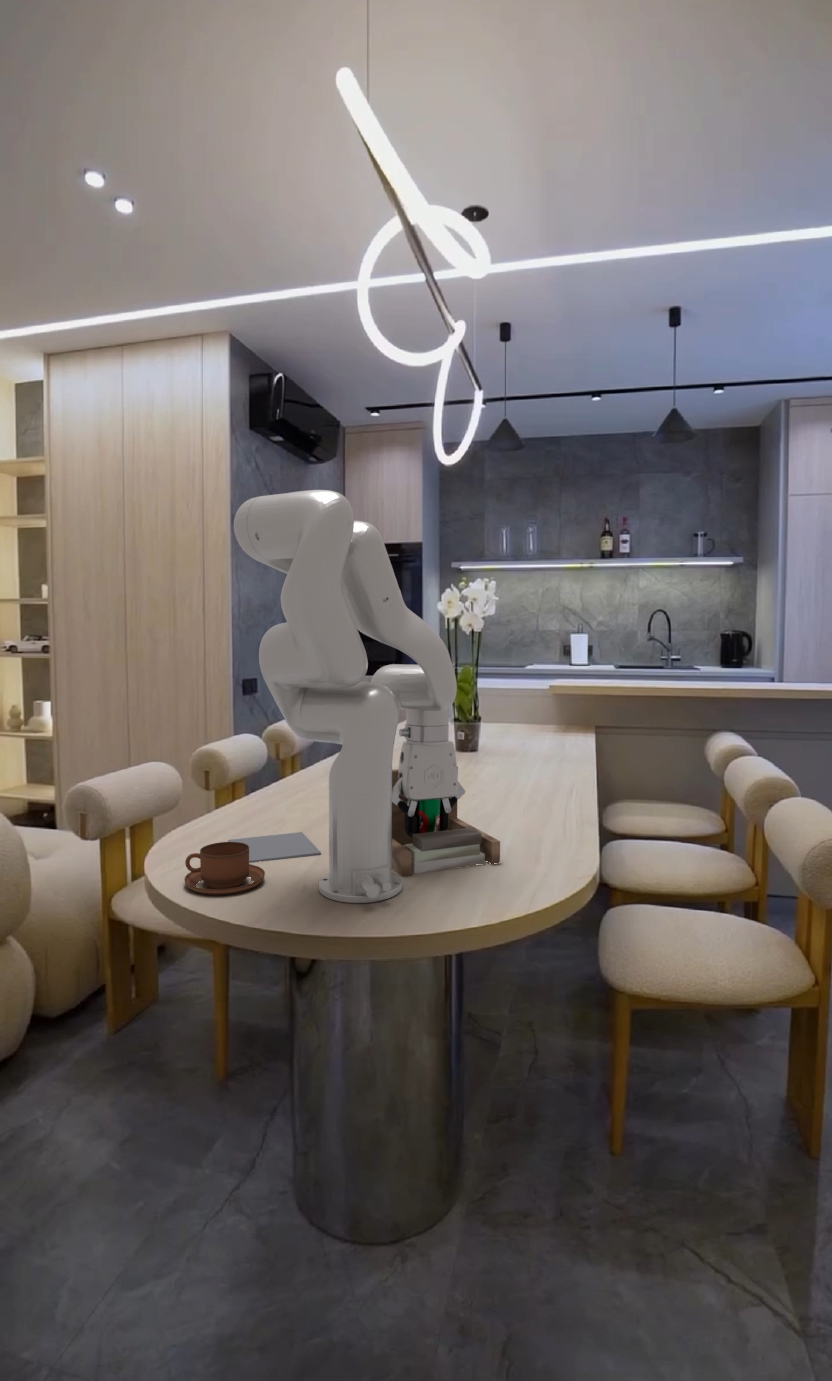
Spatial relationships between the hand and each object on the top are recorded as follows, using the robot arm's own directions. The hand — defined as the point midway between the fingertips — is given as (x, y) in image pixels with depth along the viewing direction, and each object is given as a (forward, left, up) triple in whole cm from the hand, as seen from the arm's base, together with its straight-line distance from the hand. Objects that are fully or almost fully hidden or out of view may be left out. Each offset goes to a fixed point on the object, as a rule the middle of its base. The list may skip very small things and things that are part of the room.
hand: (426, 833), depth 126 cm
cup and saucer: (-4, +36, -4) cm, 36 cm away
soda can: (0, 0, -4) cm, 4 cm away
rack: (-1, 0, -4) cm, 4 cm away
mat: (+13, +25, -4) cm, 28 cm away
